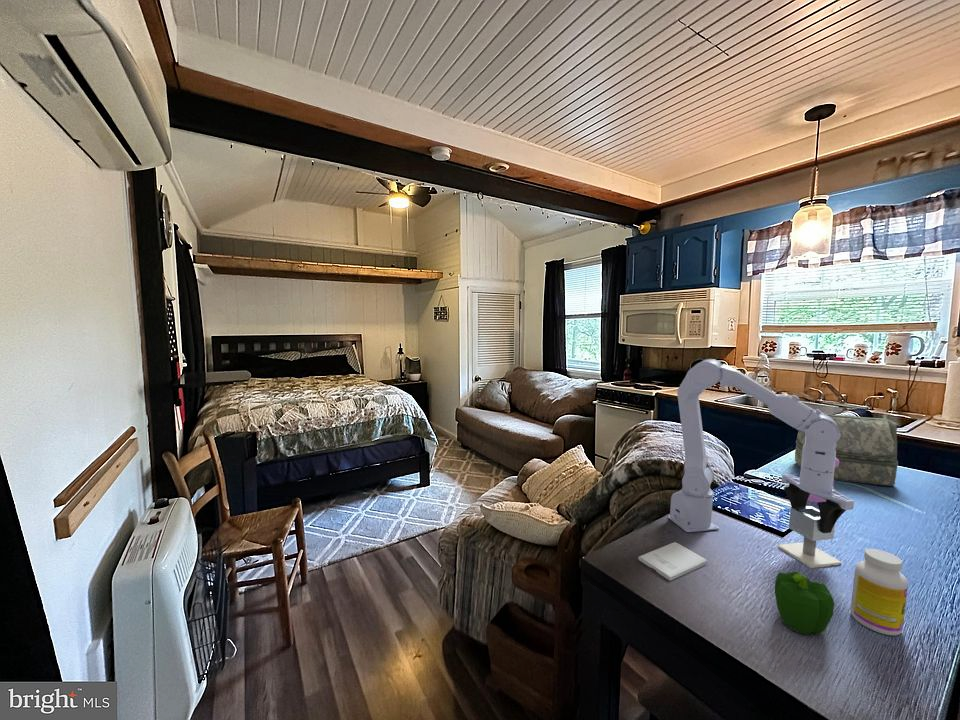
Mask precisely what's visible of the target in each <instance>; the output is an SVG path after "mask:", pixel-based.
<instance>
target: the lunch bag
mask: <svg viewBox="0 0 960 720" xmlns="http://www.w3.org/2000/svg"><path fill="white" fill-rule="evenodd" d="M826 414H827V415H828V416H829V417H830V418H832V419H833V420H834V421H835V422H836V424H837V426H838V428H839V430H840V434H841V436H840V439H839V440H838V441H837V442H836V444H837V445H836V448H835V450H836V458H837V459H838V460H839V465H838V466H837V467H836V468H835V469H834V481H844V482H851V483H853V482H854V483H862V484H870V485H877V486H878V485H879V486H894V485H896V479H897V471H898V470H897V469H898V466H899V461H898V458H897V457H898V437H897V436H898V433H897V431H898V427H899V424H898V423H897V422H895V421H892V420H890V419H888V418H886V417H885V418H884V417H883V418H881V417H879V418H877V417H865V416H864V417H863V416H854V415H844V414H830V413H826ZM804 444H805V432H804V431H802V430H798V432H797V436H796V440H795V450H794V462H795V463H796V465H797V466H798V467H799V468H800V469H801V461H802V451H803V445H804Z"/></svg>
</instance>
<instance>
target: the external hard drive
mask: <svg viewBox="0 0 960 720" xmlns="http://www.w3.org/2000/svg"><path fill="white" fill-rule="evenodd" d="M637 558H638V561H639V562H641V563H643V564H644V565H646V567H649V568H650V569H652V570H655V572H656V573H658V574H659V575H660V576H662V577H663V578H665V579H667V580H668V581H670V582H671V581H673V580H676V579H677V578H680V577H682V576H684V575H686V574H689V573H691V572H693V571H695V570H697V569H699V568H701V567H704V566H706V565H707V564H708V560H707V559H706V558H705V557H703V556H701V555H699V554H698V553H695V552H694V551H692V550H690V549H689V548H687V547H685V546H684V545H682V544H680V543H678V542H675V541H674V542H672V543H671V542H670V543H669V544H667V545H664V546H661V547H659V548H657V549H654V550H652V551H649V552H647V553H644V554H642V555H640V556H638V557H637Z"/></svg>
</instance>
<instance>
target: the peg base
mask: <svg viewBox="0 0 960 720" xmlns="http://www.w3.org/2000/svg"><path fill="white" fill-rule="evenodd" d="M777 548H778V549H780V550H781V551H783V552H784V553H786V554H788V555H790V556H791V557H793V558H794V559H796V560H797V561H798V562H800V563H801V564H804V565H805V566H807V567H808V568H810V569H816V568H823V567H824V568H825V567H832V566H831V565H834V566H840V565H839V564H841V565H842V561H840V560H839V559H837V558H835V557H833V556H832V555H830V554H828V553H826V552H825V551H823V550H821V549H819V548H818V547H817V541H811V540H810V539H808V538H806V537H804V536H803V541H802V542H791V543H784V544H778V545H777Z"/></svg>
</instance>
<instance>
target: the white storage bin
mask: <svg viewBox="0 0 960 720" xmlns="http://www.w3.org/2000/svg"><path fill="white" fill-rule="evenodd" d="M835 528H836V524H835V525H834V527H833V529H832V531H831V533H822V532H820V511H819V508H816V507H814V506H811V505H806V506H805V507H793V508H792V507H790V512H789V521H788V529H789V530H791V531H794V532H795V533H797V534H800V536H802V537H803V538H804V537H806V538H808V539H810V540H811V541H816V542H819V541H825V540H826V541H828V540H834V536H835Z"/></svg>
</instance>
